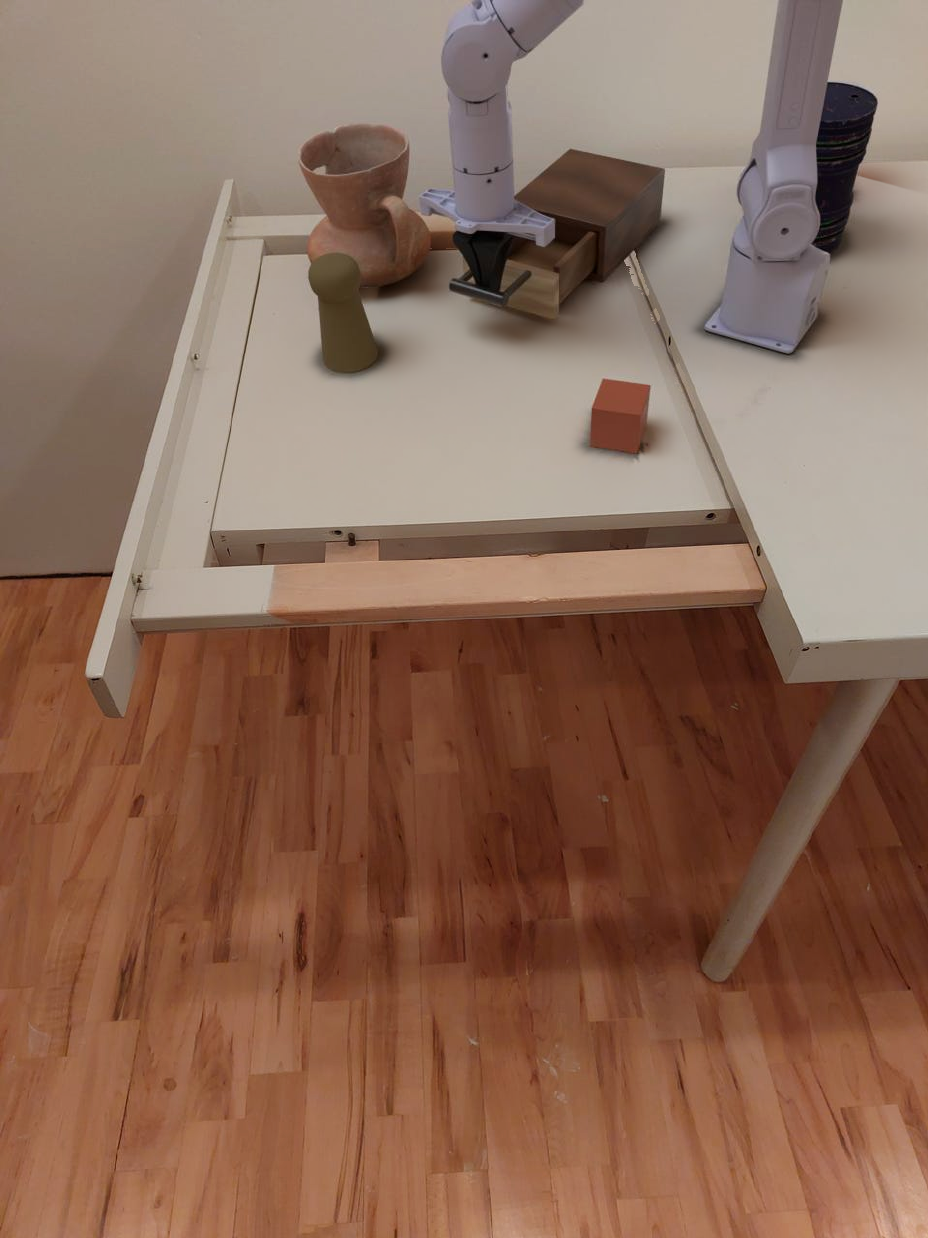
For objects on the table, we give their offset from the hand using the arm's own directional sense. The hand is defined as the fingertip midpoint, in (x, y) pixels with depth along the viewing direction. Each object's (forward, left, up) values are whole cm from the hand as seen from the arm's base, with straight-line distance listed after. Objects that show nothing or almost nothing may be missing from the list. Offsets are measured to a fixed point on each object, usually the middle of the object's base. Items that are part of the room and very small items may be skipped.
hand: (489, 292), depth 94 cm
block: (-20, +9, -4) cm, 22 cm away
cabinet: (0, -21, -4) cm, 21 cm away
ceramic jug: (+19, -4, -5) cm, 20 cm away
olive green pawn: (+11, +11, -5) cm, 16 cm away
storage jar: (-22, -32, -5) cm, 39 cm away
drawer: (0, -7, -4) cm, 8 cm away
